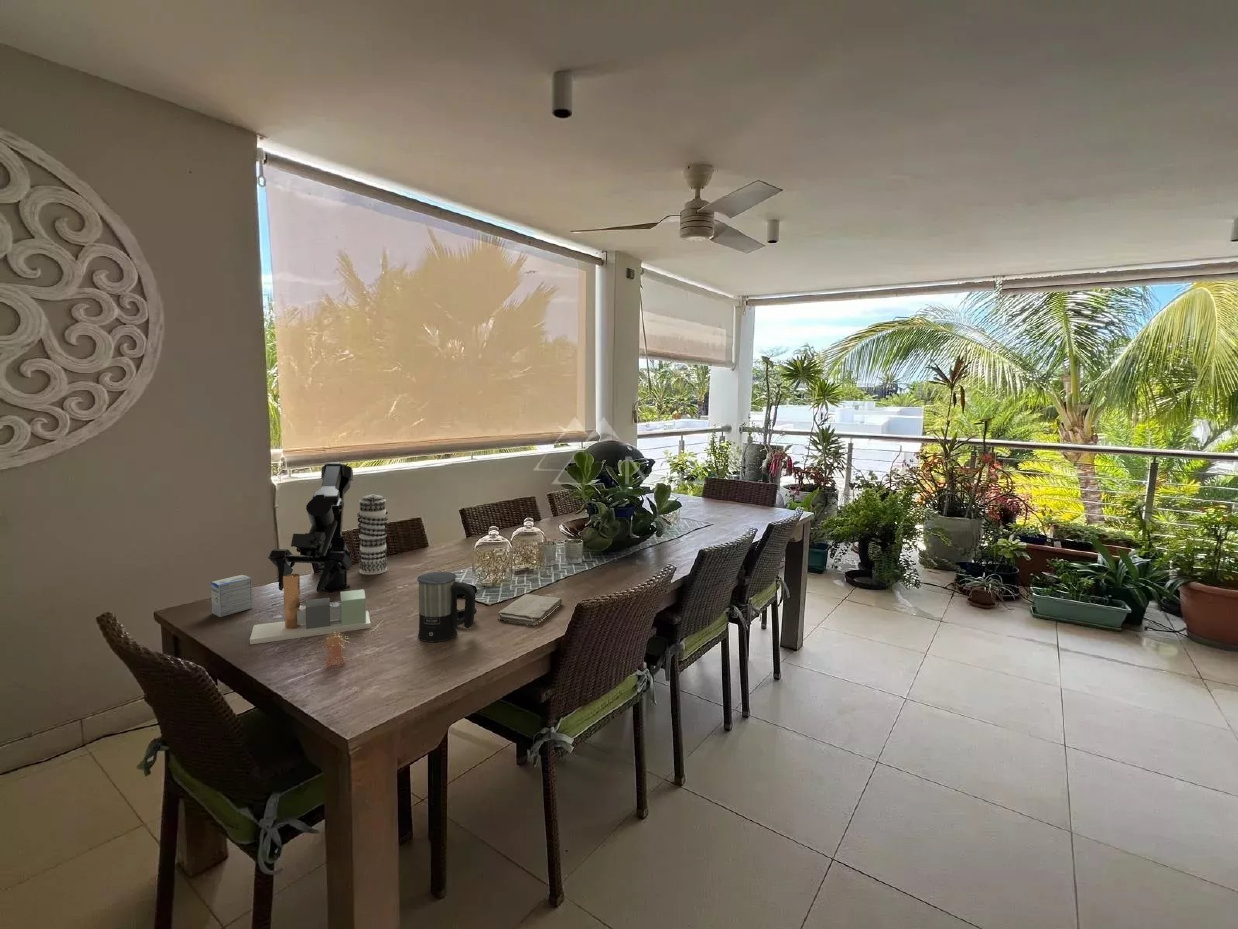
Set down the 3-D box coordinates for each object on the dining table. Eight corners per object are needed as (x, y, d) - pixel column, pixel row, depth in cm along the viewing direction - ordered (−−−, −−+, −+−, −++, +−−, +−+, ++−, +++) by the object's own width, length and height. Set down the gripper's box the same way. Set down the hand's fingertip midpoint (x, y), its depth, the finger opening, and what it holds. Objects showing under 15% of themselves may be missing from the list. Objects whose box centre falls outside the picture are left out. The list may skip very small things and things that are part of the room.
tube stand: (249, 644, 131) (248, 617, 130) (254, 629, 139) (253, 603, 138) (370, 627, 142) (370, 602, 142) (368, 615, 150) (367, 591, 149)
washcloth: (495, 622, 150) (495, 611, 149) (525, 600, 167) (525, 589, 167) (536, 629, 147) (537, 617, 146) (562, 605, 164) (563, 595, 163)
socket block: (341, 625, 140) (341, 601, 139) (340, 615, 146) (340, 591, 146) (365, 622, 143) (365, 598, 142) (364, 612, 149) (363, 589, 148)
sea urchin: (292, 668, 121) (291, 634, 120) (346, 648, 131) (345, 617, 130) (323, 685, 114) (322, 649, 113) (377, 663, 124) (377, 630, 123)
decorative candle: (359, 567, 190) (358, 493, 187) (389, 565, 193) (388, 493, 190) (356, 575, 181) (354, 498, 178) (387, 574, 184) (386, 498, 181)
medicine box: (244, 605, 154) (243, 574, 153) (253, 608, 152) (251, 577, 151) (211, 614, 147) (210, 581, 146) (220, 618, 145) (218, 585, 144)
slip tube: (284, 628, 136) (282, 578, 135) (285, 623, 139) (283, 574, 138) (356, 619, 143) (355, 571, 142) (355, 614, 146) (355, 567, 145)
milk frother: (415, 644, 134) (415, 583, 132) (420, 619, 149) (420, 564, 147) (477, 640, 138) (478, 581, 136) (476, 615, 153) (477, 562, 151)
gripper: (271, 518, 144) (245, 574, 134) (345, 521, 144) (324, 577, 134) (289, 540, 152) (266, 594, 143) (359, 542, 153) (341, 597, 143)
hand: (298, 590), depth 141 cm, fingers open, 9 cm apart
